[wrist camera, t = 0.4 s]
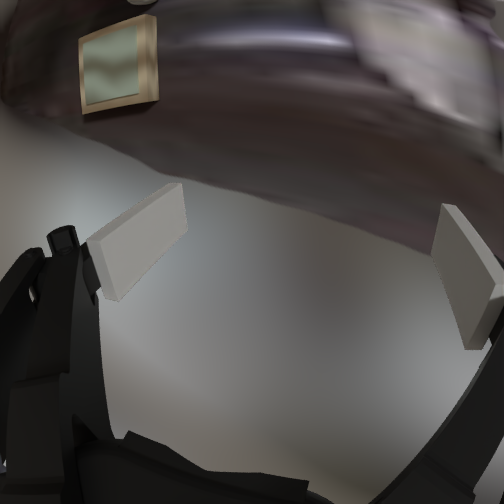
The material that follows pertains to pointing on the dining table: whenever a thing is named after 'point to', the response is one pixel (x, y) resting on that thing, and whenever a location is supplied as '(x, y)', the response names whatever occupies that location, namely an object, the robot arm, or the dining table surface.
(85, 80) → the stand
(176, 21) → the dining table surface
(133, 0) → the mug
